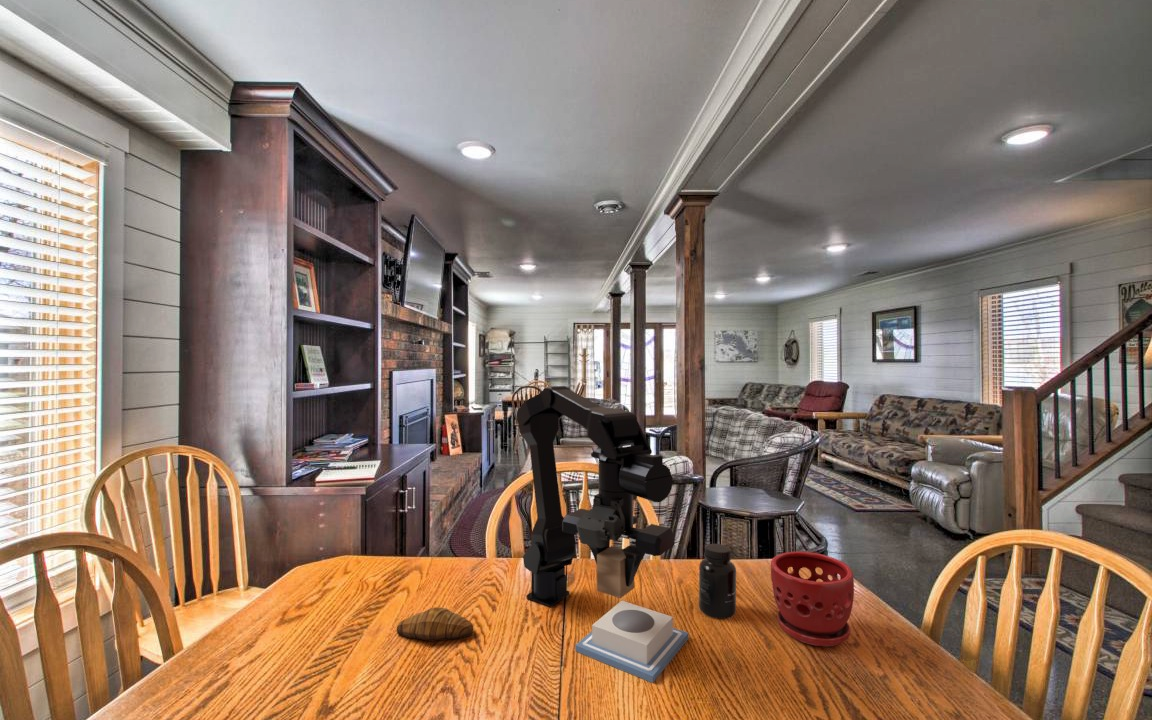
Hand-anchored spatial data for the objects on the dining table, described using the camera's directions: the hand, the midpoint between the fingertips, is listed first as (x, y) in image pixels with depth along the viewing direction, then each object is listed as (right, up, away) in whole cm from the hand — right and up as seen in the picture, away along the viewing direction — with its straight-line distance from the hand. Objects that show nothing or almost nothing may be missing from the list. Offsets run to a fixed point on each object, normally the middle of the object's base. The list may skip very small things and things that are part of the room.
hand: (616, 581), depth 82 cm
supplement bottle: (+20, -11, +12) cm, 26 cm away
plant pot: (+35, -11, +5) cm, 37 cm away
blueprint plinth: (+3, -11, +1) cm, 12 cm away
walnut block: (0, -1, 0) cm, 1 cm away
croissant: (-31, -12, +4) cm, 34 cm away
